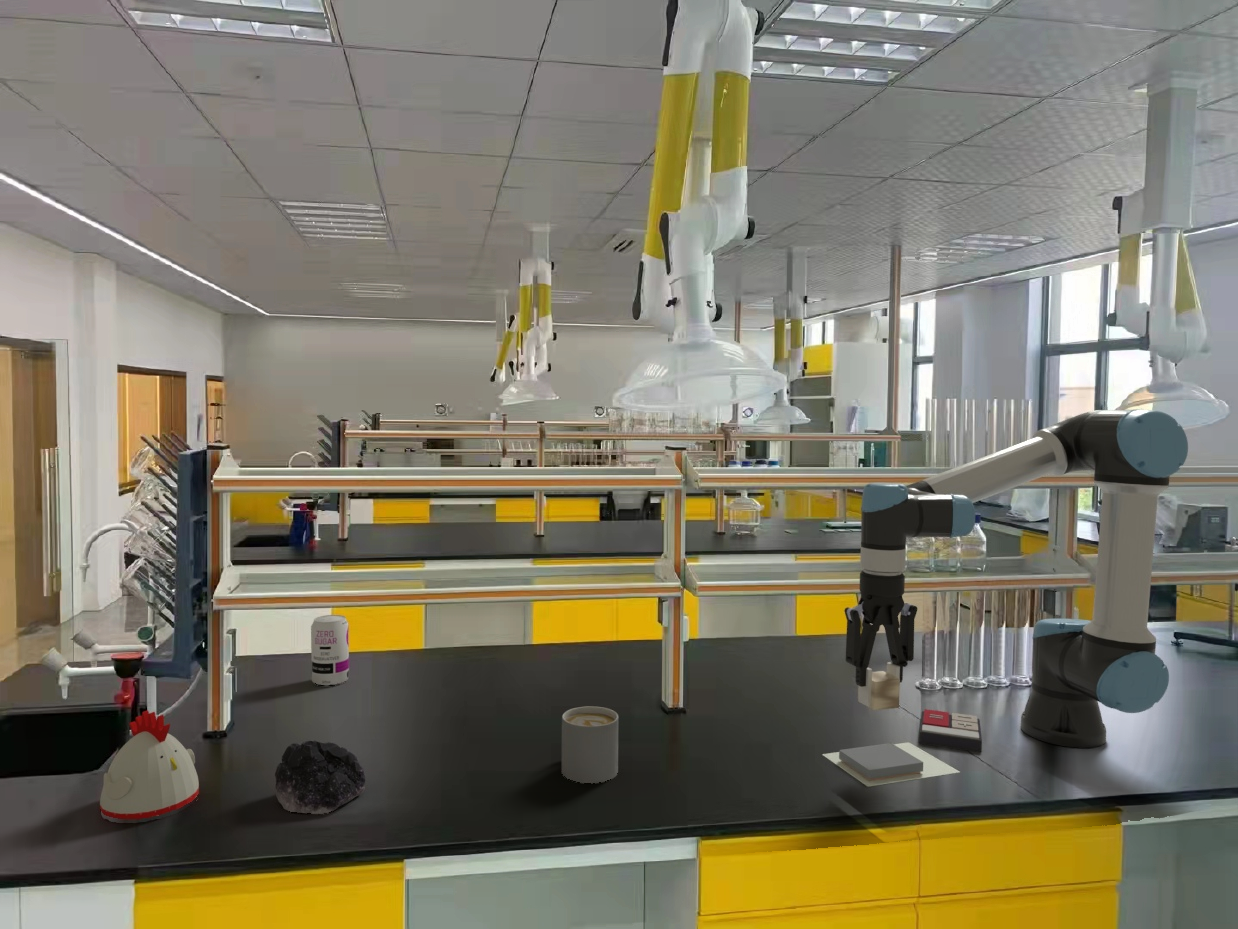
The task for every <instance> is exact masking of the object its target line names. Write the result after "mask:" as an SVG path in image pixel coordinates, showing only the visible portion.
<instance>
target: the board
mask: <svg viewBox="0 0 1238 929" xmlns="http://www.w3.org/2000/svg"><path fill="white" fill-rule="evenodd" d="M893 744H894V743H893ZM894 745H895V746H897V747H899V748H900V749H902V750H904V751H905V752H907V753H909V754H910V755H912V756H914V757H915V758H917V759H919V760H921V761H922V762H923V771H921V772H920V773H917V774H911V775H904V776H897V777H891V778H884V779H878V780H871V781H869V780H868V779H866V778H865V777H863V776H862V775H860V774H859V773H858V772H856V771H855V770H853V769H852V768H850V767H849V766H847V765H846V764H844V763H843V762H842V761H841V760H840V759H839V751H837V752H835V751H834V752H830V753H829V752H828V753H823V754H821V755H822V756H823V757H825V758H826V759H828V760H829V762H831V763H833V764H835V766H837V767H839V768H841V769H842V770H843V771H844V772H846V773H847V774H848V775H851V776H852V777H853V778H855V779H856V780H857V781H858V782H861V784H864V785H865V786H866V787H874V786H881V785H887V784H894V783H902V782H907V781H913V780H919V779H926V778H932V777H940V776H946V775H951V774H960V773H961V771H959V770H957V769H956V768H954V767H952V766H951V765H949V764H947V762H944V761H942V760H940V759H938V758H937V757H936V756H933V755H932V754H930V753H928V752H926V751H924V750H922V749H921V748H919V747H918V746H916V745H914V744H912V743H911V742H902V743H901V742H900V743H895V744H894Z"/></svg>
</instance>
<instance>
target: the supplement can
mask: <svg viewBox="0 0 1238 929" xmlns="http://www.w3.org/2000/svg"><path fill="white" fill-rule="evenodd" d="M349 631H350V630H349V622H348V620H347V618H346V616H345V615H340V614H326V615H320V616H317V617H315V618H314V619H313V622H312V624H311V626H310V634H311V636H310V637H311V638H310V643H311V644H310V645H311V646H310V648H311V650H310V651H311V652H310V653H311V654H310V656H311V681H312V683H313V684H315V683H316V684H321V685H330V684H337V683H341V682H344V681H348V679H349V678H350V659H349V658H350V654H349V653H350V649H349V648H350V642H349V640H350V638H349V637H350V636H349V635H350V634H349ZM344 683H345V682H344ZM316 684H315V685H316Z"/></svg>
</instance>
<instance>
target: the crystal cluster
mask: <svg viewBox="0 0 1238 929" xmlns="http://www.w3.org/2000/svg"><path fill="white" fill-rule="evenodd" d="M274 777H275V797H276V798H277V801H278V802H279V803H280V804H281V805H282V807H283V810H285V811H288V812H289V811H290V812H289V813H291V812H297V813H299V814H300V813H302V814H307V813H311V814H310V815H318V814H319V813H323V812H329V811H330V812H331V811H332V812H334V811H335V810H337V809H338V808H340V807H341V806H343V805H345V804H347V803H349V802H350V801H352V800H353V799H355V798H356V797H357V796H361V795H362V793H364V791H365V785H366V776H365V772H364V768H363V766H361V764H360V762H359V761H358V758H357V756H356V755H355V754H354V753H353V752H352V751H351V750H348V749H347V748H346V747H343V746H342V747H340V746H339V745H338V744H336V743H335V742H330V741H329V742H320V741H316V740H313V739H310V740H307V741H303V742H302V743H301V744H298V743H297V742H292V743H291V744H290V745H288V746H287V747H286V748H285V750H284V753H283V754H282V756H281V762H280V763H278V764H277V766H276V769H275V773H274ZM332 812H331V813H332ZM315 813H316V814H315Z"/></svg>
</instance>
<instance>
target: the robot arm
mask: <svg viewBox="0 0 1238 929" xmlns="http://www.w3.org/2000/svg"><path fill="white" fill-rule="evenodd" d="M1188 452H1189V442H1188V437H1187V433H1186V432H1185V430H1184V428H1183V426H1182V425H1181V424H1180V423H1178V422H1177V420H1176V419H1175V418H1174V417H1173V416H1171V415H1170V414H1168V413H1166V412H1163V411H1159V410H1152V409H1144V408H1136V409H1097V410H1091V411H1087V412H1084V413H1080V414H1077V415H1075V416H1072V417H1070V418H1067V419H1064V420H1062V421H1060V422H1057V423H1054V424H1052V425H1050V426H1047V427H1044V428H1042V429H1041V428H1040V429H1039V430H1037V431H1036V432H1034V433H1033V436H1032V437H1031V438H1030V439H1028V440H1024V441H1022V442H1020V443H1017V444H1014V445H1011V446H1009V447H1007V448H1004V449H1002V450H998V451H996V452H993V453H990V454H988V455H985V456H982V457H980V458H977V459H975V460H974V459H973V460H972V461H969V462H967V463H963V464H961V465H958V466H956V467H954V468H951V469H948V470H946V471H942V472H940V473H937V474H935V475H933V476H930V477H926V478H924V479H922V480H919V481H916V482H913V483H911V484H908V485H905V484H903V483H899V482H898V483H897V482H894V483H893V482H870V483H867V484H866V485H864V487H863V489H862V497H861V505H860V512H861V513H860V514H861V521H860V522H861V523H860V524H861V525H860V527H861V529H860V530H861V533H860V535H861V536H860V538H861V539H860V540H861V541H860V559H859V560H860V561H859V562H860V564H859V565H860V566H859V567H860V569H862V571H860V573H859V592H860V599H859V600H858V603H857V605H855V606H853V607H848V606H847V607H845V608H844V610H843V612H844V615H845V618H846V638H845V644H846V645H845V662H846V663H848V664H850V665H852V666H854V667H855V685H857V686H858V685H859V698H858V697H857V702H859V703H860V704H862V705H864V706H866V707H868V706H871V683H872V672H873V669H872V668H870V667H869V664H870V661H871V656H872V652H873V650H874V644H875V640H876V636H877V633H878V632H879V631H880V629H881V626H883V628H884V632H885V637H886V641H887V647H888V652H889V658H890V661H889V662H886V673H888V674H890V675H892V676H894V677H896V678H898V679H900V684H901V683H903V678H904V668H905V667H907V666H908V662H912V661H913V660H914V659H915V658H914V655H915V654H914V653H915V652H914V650H915V648H914V647H915V619H916V615H917V612H918V607H917V606H916V605H913V604H910V603H908V602H905V600H904V599H903V595H904V594H905V586H906V585H905V581H906V580H905V578H906V575H905V574H904V573H903V572H904V571H905V570H906V555H907V554H906V552H907V551H906V550H907V549H906V548H907V538H911V539H912V538H949V539H953V538H961V537H963V538H964V537H966V536H968V535H969V534H971V532H972V531H973V529H974V528H975V524H976V510H975V509H976V508H975V506H974V503H977V502H979V501H982V500H984V499H988V498H990V497H993V496H995V495H997V494H1000V493H1003V492H1006V491H1008V490H1011V489H1014V488H1016V487H1019V486H1021V485H1024V484H1027V483H1029V482H1033V481H1034V480H1037V479H1040V478H1043V477H1046V476H1049V475H1050V476H1052V477H1059V476H1062V475H1065V474H1069V473H1073V472H1080V471H1093V472H1094V476H1093V484H1095V485H1096V486H1097V487H1098V488H1099V489H1100V490H1101V492H1102V496H1101V509H1100V520H1099V521H1100V522H1099V533H1098V535H1099V536H1098V546H1097V547H1098V548H1097V560H1096V561H1097V562H1096V574H1095V586H1094V597H1093V610H1092V619H1091V620H1088V619H1078V618H1045V619H1040V620H1038V621H1036V623H1035V625H1034V627H1033V628H1034V629H1033V635H1032V640H1033V644H1032V667H1031V668H1032V669H1031V671H1032V674H1031V692H1030V694H1029V696H1028V699H1027V702H1026V704H1025V707H1024V710H1023V711H1022V714H1021V715H1020V729H1021V731H1022V732H1024V733H1025V734H1026V735H1027V736H1030V737H1031V738H1034V739H1036V740H1039V741H1042V742H1044V743H1049V744H1052V745H1057V746H1062V747H1070V748H1077V749H1079V748H1080V749H1081V748H1082V749H1083V748H1084V749H1089V748H1096V747H1101V746H1103V745H1105V744H1106V742H1107V728H1106V725H1105V724H1104V720H1103V717H1102V713H1101V712H1102V711H1101V710H1100V706H1099V703H1101V704H1102V705H1103V706H1105V707H1106V708H1110V709H1113V710H1117V711H1119V712H1122V713H1126V714H1139V713H1142V712H1145V711H1148V710H1149V709H1151V708H1153V706H1154V705H1155V704H1157V703H1159V702H1160V701H1161V700H1162V698H1163V697H1164V695H1165V694H1166V692H1167V690H1168V686H1169V682H1170V674H1169V668H1168V667H1167V665H1166V664H1165V663H1164V660H1163V659H1162V658H1161V657H1159V656H1158V655H1157V654H1156V646H1157V638H1156V636H1155V635H1154V634H1153V632H1151V630H1149V628H1148V619H1149V607H1150V598H1151V597H1150V596H1151V585H1152V584H1151V583H1152V572H1153V559H1154V546H1155V535H1156V525H1157V524H1156V523H1157V509H1158V497H1159V496H1160V494H1161V493H1163V492H1164V491H1166V490H1167V489H1168V488H1169V487H1170V485H1169V484H1170V479H1171V478H1170V476H1172V475H1174V474H1176V473H1177V472H1178V471H1179V470H1180V469H1181V468H1180V467H1182V466H1184V465H1185V462H1186V460H1187V457H1188V455H1189V454H1188ZM862 615H863V616H862ZM899 615H900V616H899ZM862 618H863V619H862ZM861 619H862V620H861ZM861 621H862V622H861ZM868 708H869V707H868Z"/></svg>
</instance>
